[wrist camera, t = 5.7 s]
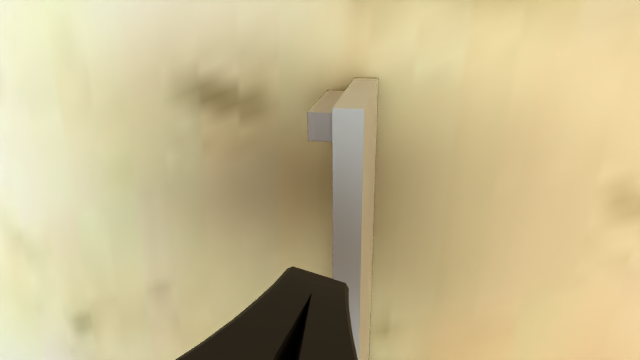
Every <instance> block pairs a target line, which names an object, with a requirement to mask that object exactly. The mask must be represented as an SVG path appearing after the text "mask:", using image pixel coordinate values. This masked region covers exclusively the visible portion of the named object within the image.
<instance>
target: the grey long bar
mask: <svg viewBox="0 0 640 360" xmlns="http://www.w3.org/2000/svg"><path fill="white" fill-rule="evenodd" d="M377 106H378V78H354V79H353V81H352V82H351V83H350V85H349V86H348V87H347V89H346V90H345V91H334V90H327V91H326V92H325V94H324V95H323V96H322V97H321V98H320V99H319V100H318V101H317V102H316V103H315V104H314V105H313V107H312V108H311V109H310V110H309V111H308V112H307V119H308V141H324V142H332V168H333V279H335V280H338V281H341V282H344V283H346V284H347V286H348V288H349V311H350V319H351V327H352V333H353V339H354V343H355V348H356V353H357V358H358V360H369V347H370V317H371V286H372V256H373V226H374V196H375V166H376V136H377Z"/></svg>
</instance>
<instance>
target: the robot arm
mask: <svg viewBox="0 0 640 360" xmlns="http://www.w3.org/2000/svg"><path fill="white" fill-rule="evenodd" d="M176 360H358V358H357V353H356V348H355V343H354V339H353V333H352V327H351V319H350V311H349V288H348V286H347V284H346V283H344V282H341V281H338V280H335V279H331V278H328V277H325V276H322V275H318V274H315V273H312V272H309V271H306V270H302V269H299V268H296V267H291V268H288V269H287V270H286V271H285V272H284V273H283V274H282V275H281V276H280V278H279V279H278V280H277V281H276V282H275V283H274V284H273V285H272V286H271V287H270V288H269V289H268V290H267V291H265V292H264V293H263V294H262V295H261V296H260V297H259V298H258V299H257V300H256V301H254V302H253V303H252V304H251V305H250V306H248V307H247V308H246V309H245V310H244V311H243V312H241V313H240V314H239V315H238V316H237V317H235V318H234V319H233V320H232V321H230V322H229V323H228V324H226V325H225V326H223V327H222V328H221V329H219V330H218V331H217V332H215V333H214V334H213V335H211V336H210V337H209V338H207V339H206V340H205V341H203V342H202V343H200V344H199V345H197V346H196V347H194V348H193V349H191V350H190V351H188V352H187V353H185V354H184V355H182V356H180V357H179V358H177V359H176Z"/></svg>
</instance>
